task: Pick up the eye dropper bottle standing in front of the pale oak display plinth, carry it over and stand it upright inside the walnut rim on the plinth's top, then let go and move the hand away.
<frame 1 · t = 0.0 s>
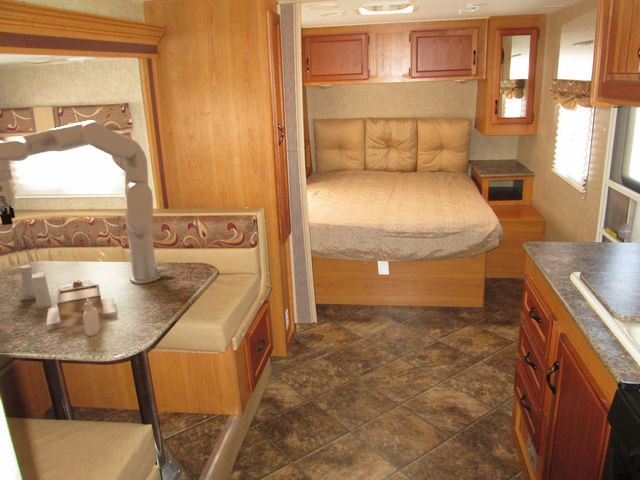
hand: (9, 221, 191), 31 cm above the table, tool pointing down, fingers open, 9 cm apart
salt shaker: (31, 298, 201), on the table
eye dropper bottle: (93, 332, 172), on the table
display plinth: (82, 315, 185), on the table
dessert: (78, 290, 209), on the table
skincare box: (44, 305, 194), on the table
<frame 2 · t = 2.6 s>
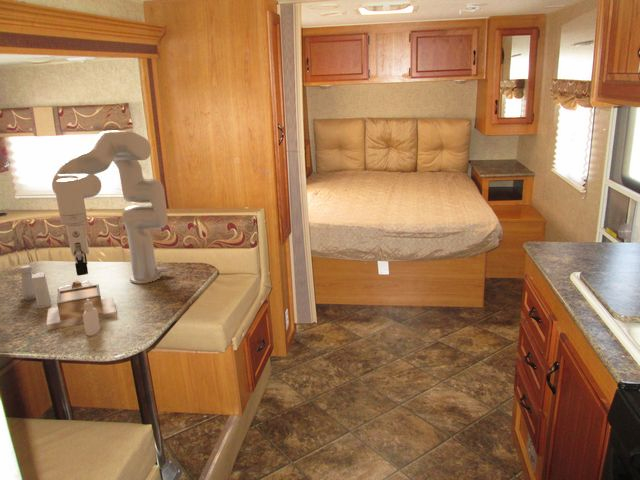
hand: (82, 269, 165), 22 cm above the table, tool pointing down, fingers open, 9 cm apart
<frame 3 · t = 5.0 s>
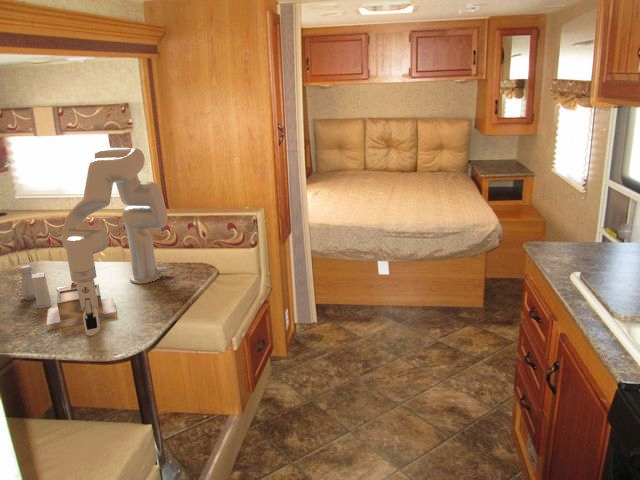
hand: (91, 324, 171), 3 cm above the table, tool pointing down, fingers closed on eye dropper bottle, 5 cm apart
eye dropper bottle: (93, 332, 172), on the table, touching gripper
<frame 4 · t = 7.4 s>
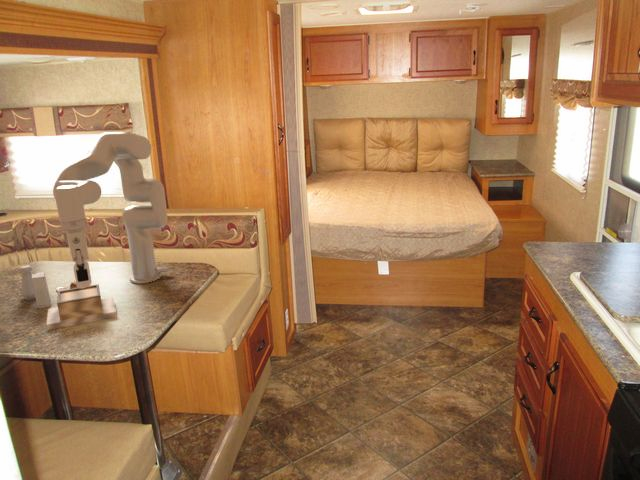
hand: (83, 277, 169), 19 cm above the table, tool pointing down, fingers closed on eye dropper bottle, 5 cm apart
eye dropper bottle: (84, 286, 170), point 16 cm above the table, touching gripper
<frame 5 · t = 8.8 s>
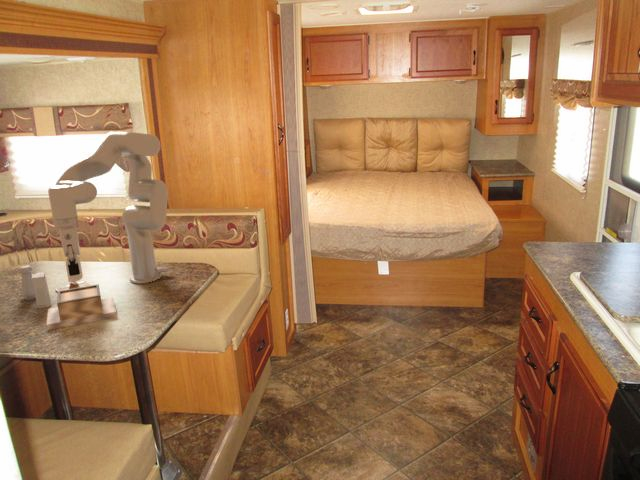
hand: (74, 271, 180), 17 cm above the table, tool pointing down, fingers closed on eye dropper bottle, 5 cm apart
eye dropper bottle: (76, 280, 181), point 14 cm above the table, touching gripper
when the fingers open (12 cm above the table, at t = 10.0 s): eye dropper bottle stays where it is, resting on display plinth.
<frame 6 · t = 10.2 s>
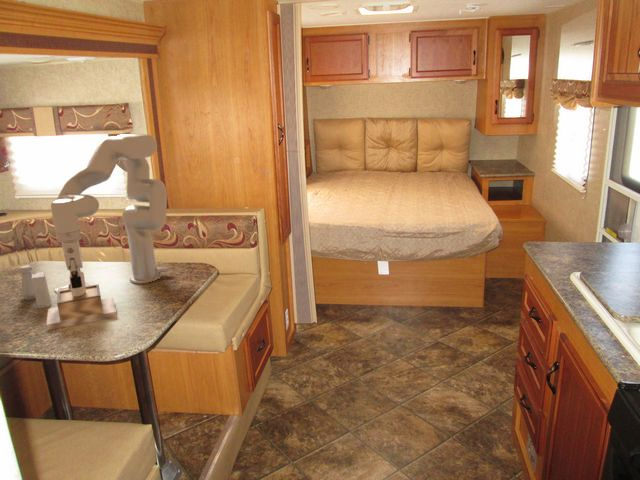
hand: (77, 283, 181), 12 cm above the table, tool pointing down, fingers open, 7 cm apart
eye dropper bottle: (79, 294, 182), point 8 cm above the table, touching display plinth
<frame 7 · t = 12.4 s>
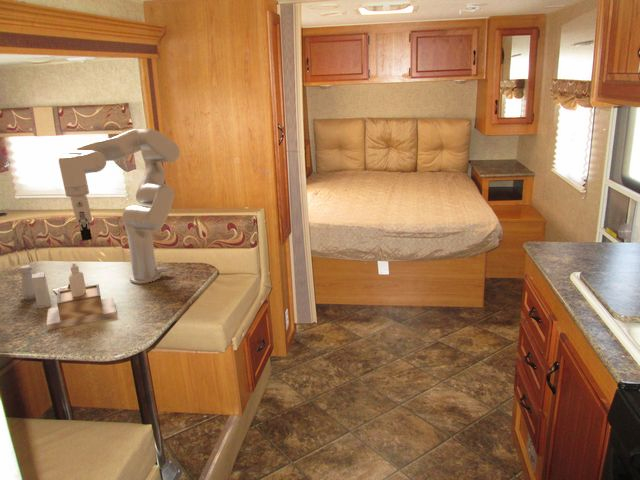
hand: (86, 236, 187), 26 cm above the table, tool pointing down, fingers open, 9 cm apart
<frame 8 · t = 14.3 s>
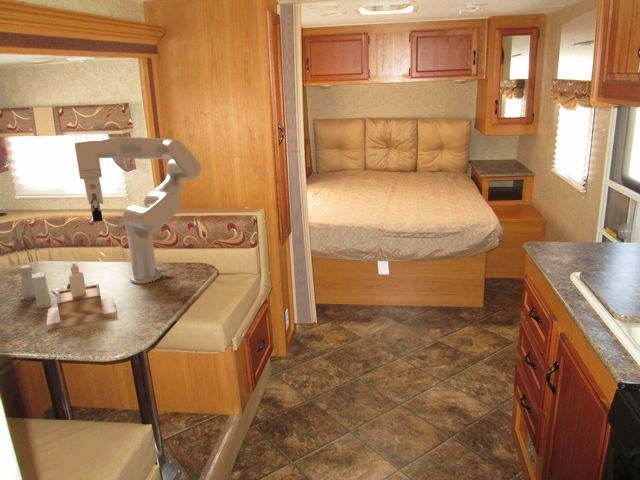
hand: (97, 218, 196), 30 cm above the table, tool pointing down, fingers open, 9 cm apart
at the end: eye dropper bottle inside the target area on the display plinth (0.1 cm from its centre), point 7.8 cm above the display plinth's base; eye dropper bottle tilted 0°; the gripper is holding nothing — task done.
